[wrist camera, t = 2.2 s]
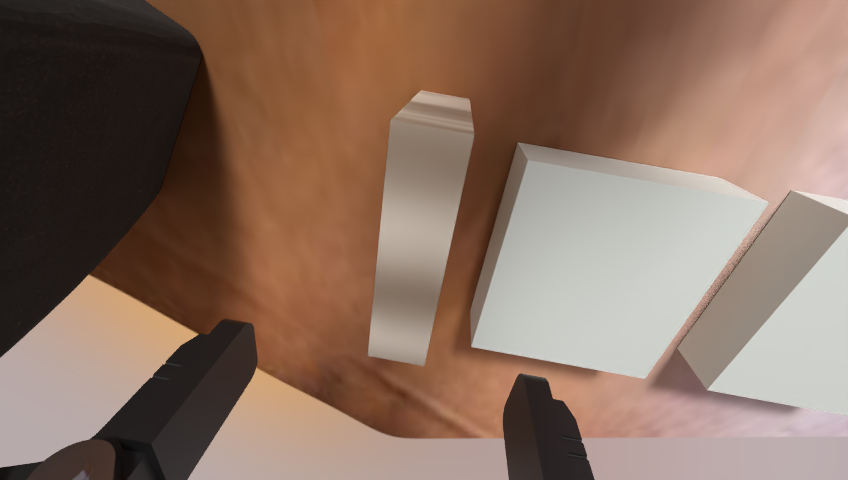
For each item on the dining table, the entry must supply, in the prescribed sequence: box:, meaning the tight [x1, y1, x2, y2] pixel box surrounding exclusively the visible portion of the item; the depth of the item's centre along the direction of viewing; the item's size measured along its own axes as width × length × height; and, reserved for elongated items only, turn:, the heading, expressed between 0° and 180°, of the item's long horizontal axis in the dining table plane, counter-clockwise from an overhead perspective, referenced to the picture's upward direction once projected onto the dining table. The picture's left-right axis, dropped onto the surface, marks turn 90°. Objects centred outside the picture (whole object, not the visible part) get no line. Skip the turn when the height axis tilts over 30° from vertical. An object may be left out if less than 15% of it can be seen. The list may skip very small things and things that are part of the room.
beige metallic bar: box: [368, 90, 474, 366], centre depth 19 cm, size 12×3×10 cm, turn 171°
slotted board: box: [470, 142, 848, 416], centre depth 23 cm, size 14×30×4 cm, turn 81°
